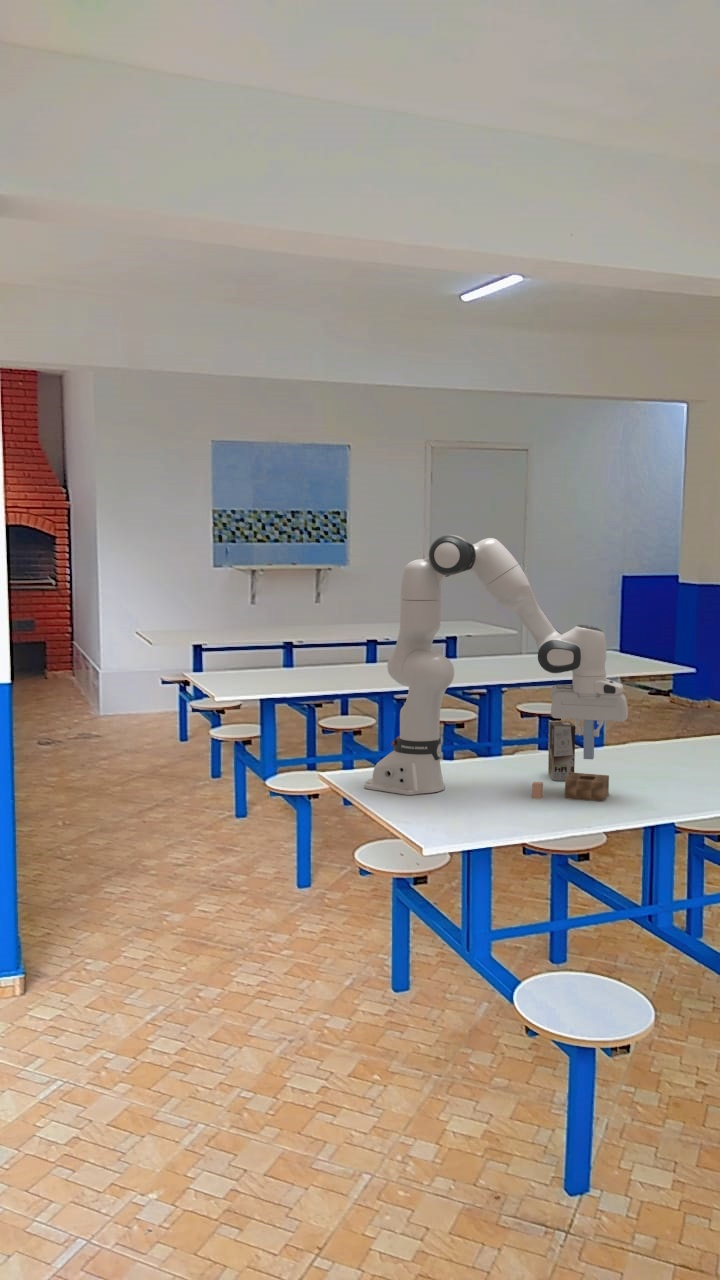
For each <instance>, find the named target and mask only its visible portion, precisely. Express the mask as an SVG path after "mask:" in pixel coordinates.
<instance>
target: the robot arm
mask: <svg viewBox="0 0 720 1280" xmlns="http://www.w3.org/2000/svg"><path fill="white" fill-rule="evenodd" d="M466 571H468V572H469V571H470V572H472V573H473V574H474V575H475V576H476V577H477V578H478V579H479V580H480V582H481V584H482V585H483V587H484V588H485V590H486V591H487V593H488V594H489V595H490V596H491V597H492V599H493V600H495V602H496V603H497V604H498V605H500V606H501V607H502V608H504V609H506V610H508V611H510V612H511V613H513V614H514V615H515V616H516V617H518V619H519V620H521V622H522V623H523V625H524V627H525V629H526V630H527V631H528V633H529V634H530V635H531V637H532V638H533V639H534V641H535V643H536V644H537V647H538V648H537V650H538V651H537V661H538V663H539V666H541V668H542V670H544V671H546V672H548V673H551V674H561V673H565V672H566V673H567V672H570V671H571V672H572V684H558V683H557V684H556V685H553V686H552V687H551V688H550V698H551V700H552V701H551V708H550V716H552V718H553V719H562V720H563V719H564V720H574V724H573V725H575V726H576V727H575V728H576V730H578V737H584V728H582V726H581V724H580V723H581V721H584V720H594V721H596V724H597V725H598V726H597V728H596V729H595V728H594V730H593V737H594V738H599V737H600V731H601V728H602V727H603V725H604V723H605V722H621V723H623V722H625V721H626V720H627V719H628V716H629V709H628V702H627V698H626V695H625V694H624V693H623V692H624V685H623V684H622V683H621V682H617V681H614V680H611V679H608V678H607V673H606V672H607V671H606V661H607V642H606V636H605V632H604V631H603V630H602V629H601V628H598V627H595V626H593V625H586V624H578V625H575V627H572V629H570V630H568V631H566V632H564V633H562V632H560V631H558V630H557V629H556V628H555V626H553V624H552V623H551V621H550V620H549V619H548V617H547V616H546V614H545V613H544V611H543V609H542V608H541V607H540V606H539V603H538V602H537V599H536V598H535V594H534V592H533V589H532V587H531V584H530V581H529V579H528V577H527V575H526V574H525V572H524V570H523V569H522V567H521V565H520V564H519V563H518V561H517V559H516V558H515V557H514V556H513V554H512V553H511V552H510V551H509V550H508V549H507V548H506V546H505V545H503V543H502V542H500V541H499V540H498V539H496V538H494V537H487V538H483V539H481V540H479V541H477V542H476V543H473V544H472V543H471V542H468V541H467V540H466V539H465V538H463V537H462V536H459V535H458V534H457V535H456V534H445V535H442V536H440V537H437V539H435V540H434V541H433V542H432V544H431V546H430V548H429V550H428V557H426V558H419V559H415V560H411V561H410V562H408V563H407V564H406V565H405V566H404V570H403V574H402V580H401V588H400V589H401V590H400V615H399V616H400V619H399V620H400V621H399V622H400V623H399V624H400V625H399V631H398V632H399V633H398V637H397V640H396V643H395V647H394V651H393V653H391V654H390V655H389V658H388V661H387V665H386V666H387V667H386V668H387V672H388V675H389V677H391V678H392V679H393V680H394V681H395V682H396V683H397V684H399V685H402V686H404V687H408V693H407V697H406V700H405V703H404V704H403V705H402V707H401V708H400V712H399V735H398V736H396V738H395V739H393V741H391V743H392V744H391V746H393V751H391V752H389V753H388V754H387V755H386V756H385V757H383V758H382V759H380V760H379V761H378V762H377V763H376V764H375V766H374V768H373V771H372V772H373V773H372V778H370V779H368V780H366V781H365V782H364V789H366V790H374V791H380V792H386V793H387V792H388V793H393V794H399V795H407V796H411V795H412V796H413V795H419V794H430V793H436V792H437V793H438V792H440V791H443V790H445V788H446V785H445V783H444V780H443V774H442V765H441V758H442V757H441V756H442V739H441V737H440V717H441V716H440V714H441V708H442V703H443V699H444V696H445V693H446V691H447V689H448V687H449V686H450V685H452V682H453V681H454V678H455V668H454V665H453V662H452V661H451V660H450V659H449V658H448V657H446V656H445V655H443V654H442V653H439V652H438V651H432V645H433V642H434V638H435V636H436V634H437V633H438V632H439V630H440V628H441V603H442V602H441V599H442V598H441V593H442V591H441V588H442V582H443V581H444V579H445V578H446V577H450V576H456V575H460V574H462V573H463V572H466Z"/></svg>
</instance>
